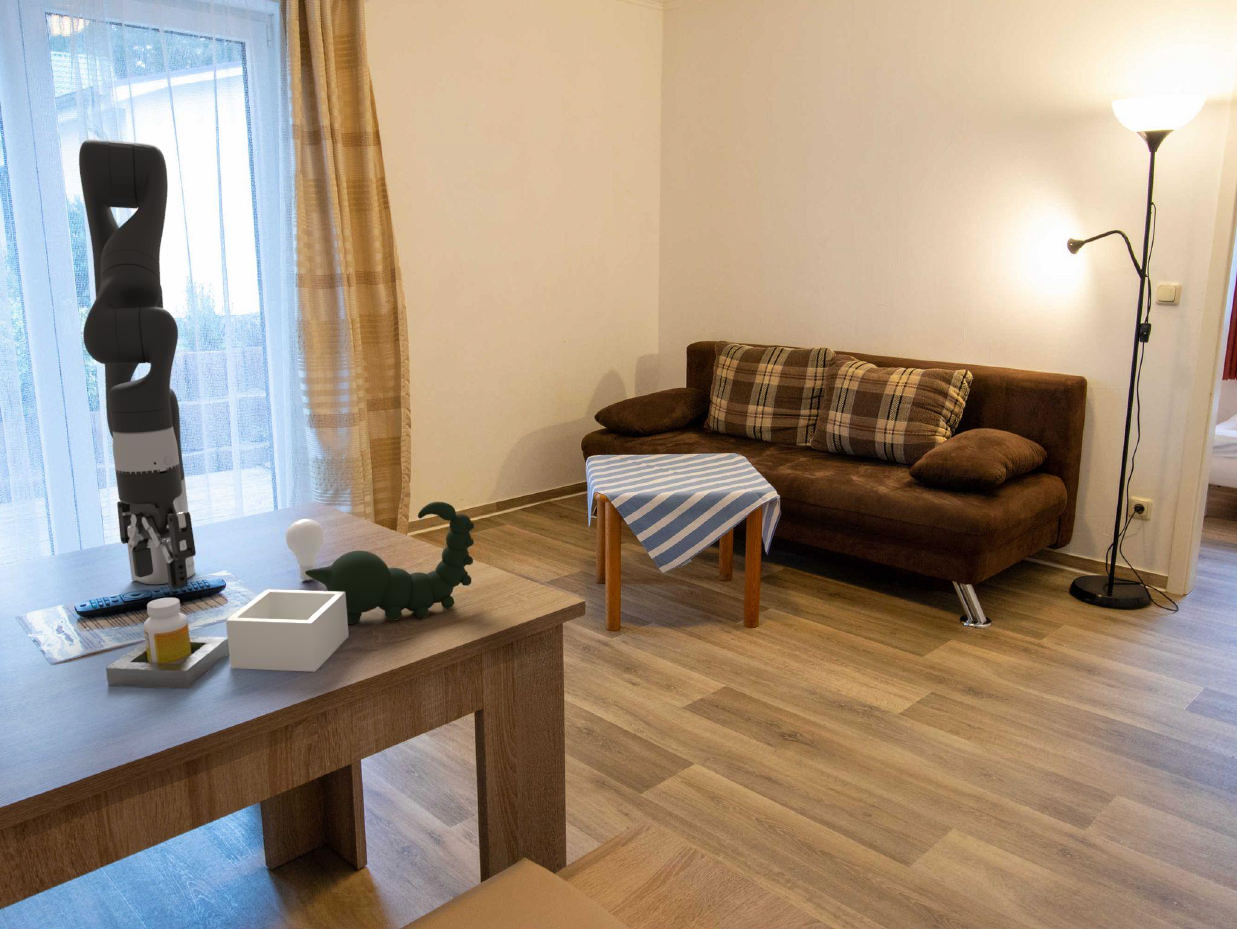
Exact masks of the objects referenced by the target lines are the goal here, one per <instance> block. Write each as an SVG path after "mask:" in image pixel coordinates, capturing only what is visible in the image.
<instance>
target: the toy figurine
mask: <svg viewBox="0 0 1237 929" xmlns="http://www.w3.org/2000/svg"><path fill="white" fill-rule="evenodd" d="M428 515H435V516H438V517H439V518H440V519H443V521H447V522H449V531H448V532H447V534H446V536H445V543H446V544H445V545H446V546H445V548H443V550H442V553H441V561H440V562H438V564H437V565H436V566H435V570H431V571H430V572H427V573H425V572H418V571H417V572H412V573H409V572H408V571H407V570H404V569H403V568H399V567H390V568H389V566H388V564H386V562H385V561H384V560H383V559H382V558H381V557H380V556H378V555H377V554H375V553H372V552H370V551H367V550H353V551H349V552H346V553H344V554H341V555H340V556H339V557H338V558H337V559H336V560H335V561H333V563H332V564H331V565H329V566H324V567H319V568H318V567H316V569H311V570H307V571H305V574H306V575H308V576H309V577H311V578H313V580H315V581H317V582H318V583H321V584H322V585H324V586H325V587H326V591H338V592H345V594H346V608H347V622H348V624H349V625H354V624H356V623H357V622H358V621H360V620H361V618H362V614H363V613H367V612H370V611H372V610H375V609H376V608H379V609H380V610H382V611H384V614H385V615H384V616H385V617H386V619H389V620H390V621H392V622H393V621H395V620H399V619H400V617H401V616H402V615H403V612H402V611H403V610H405V609H406V610H408V611H410V612H414V613H415V616H416V617H417V618H418V619H422V618H424V619H425V618H427V617H428V616H429V612H430V610H429V609H430V608H432V607H433V605H434V604H436V603H437V604H439V603H441V607H443V608H445V609H447V610H448V609H450V608H452V607H453V606H454V604H455V599H454V597H453V596H452V594H453V591H454V588H456V587H458V586H459V585H460V584H461V585H462V586H466V587H467V586H469V585H471V583H472V577H471V576H470V574H469V573H468V572H467V570H466V568H465V567H466V566H471V565H472V564H474V559H473V557H472V556H470V554H469V550H468V549H469V548H470V547H471V546H473V545H474V543H475V540H474V538H472V536H471V533H470V531H472V530H474V529H475V523H474V522H472V520H471V518H470V516H468V515H466V514H464V513H458V514H457V512H456V509H455V507H454V506H453V505H451V504H450V503H447V502H444V501H433V502H429V503H428V504H426V505H425V506H424V507H422V508H421V509H420V511H418V514H417V517H418V519H422V518H424V517H425V516H428Z"/></svg>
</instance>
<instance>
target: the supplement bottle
mask: <svg viewBox="0 0 1237 929" xmlns="http://www.w3.org/2000/svg"><path fill="white" fill-rule="evenodd" d="M180 602H181V601H180V599H179V598H176V597H163V598H162V597H161V598H157V599H153V600H151V601H149V602H148V603H147V604H146V608H147V609H146V612H147V615H148V618H147V619H146V620H144V623H143V633H144V639H145V642H146V650H147V658H148V663H165V664H180V663H182V662H183V661H184V660H186V659H187V658H188V657H189V656H191V647H190V638H189V636H190V631H189V622H188V617H187V616H186V615H185V614H184V613H182V612H181V603H180Z"/></svg>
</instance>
